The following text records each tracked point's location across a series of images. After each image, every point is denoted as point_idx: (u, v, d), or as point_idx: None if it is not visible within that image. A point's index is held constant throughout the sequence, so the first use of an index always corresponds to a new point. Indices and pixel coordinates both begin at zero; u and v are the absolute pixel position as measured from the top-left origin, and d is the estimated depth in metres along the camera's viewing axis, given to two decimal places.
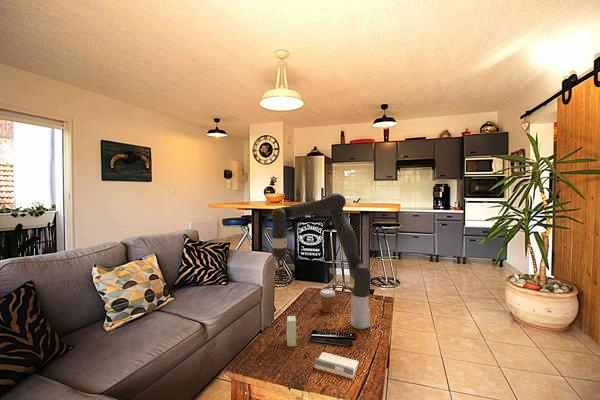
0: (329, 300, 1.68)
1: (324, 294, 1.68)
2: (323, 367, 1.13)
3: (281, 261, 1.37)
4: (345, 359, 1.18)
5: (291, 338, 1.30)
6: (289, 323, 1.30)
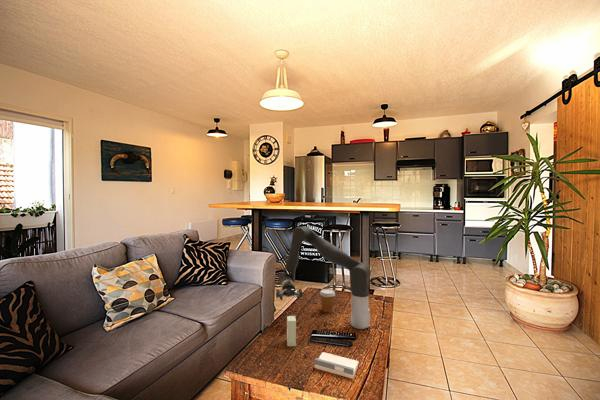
0: (329, 300, 1.68)
1: (324, 294, 1.68)
2: (323, 367, 1.13)
3: None
4: (345, 359, 1.18)
5: (291, 338, 1.30)
6: (289, 323, 1.30)
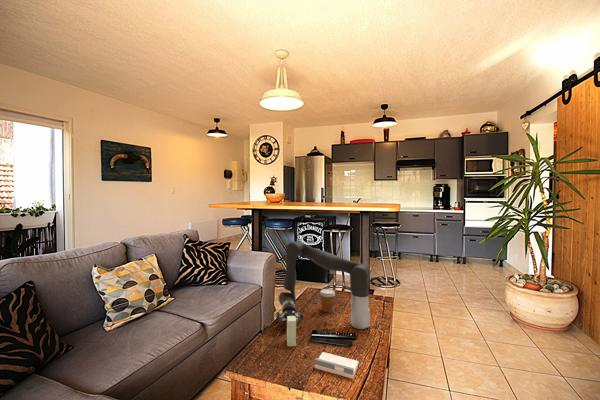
0: (329, 300, 1.68)
1: (324, 294, 1.68)
2: (323, 367, 1.13)
3: None
4: (345, 359, 1.18)
5: (291, 338, 1.30)
6: (289, 323, 1.30)
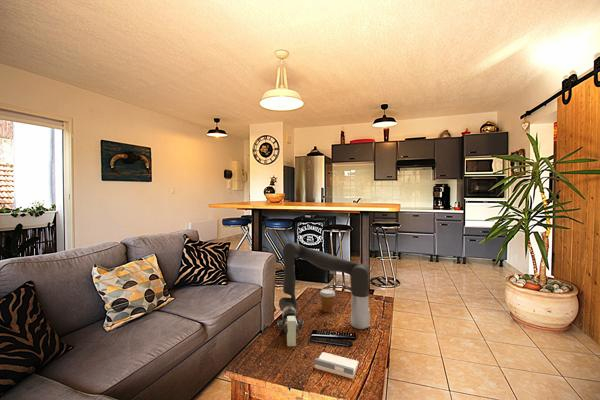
0: (329, 300, 1.68)
1: (324, 294, 1.68)
2: (323, 367, 1.13)
3: (277, 322, 1.39)
4: (345, 359, 1.18)
5: (291, 338, 1.30)
6: (289, 323, 1.30)
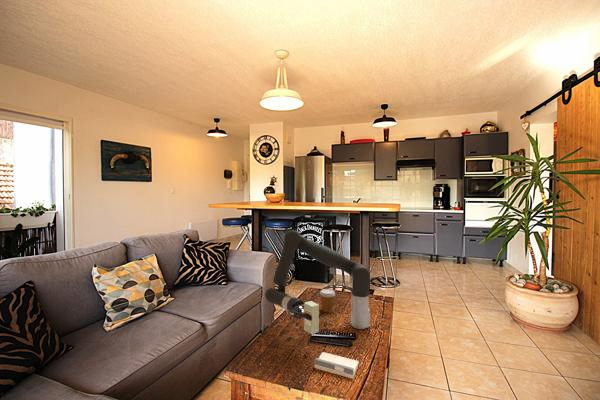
0: (329, 300, 1.68)
1: (324, 294, 1.68)
2: (323, 367, 1.13)
3: (290, 312, 1.24)
4: (345, 359, 1.18)
5: (315, 324, 1.20)
6: (313, 308, 1.20)
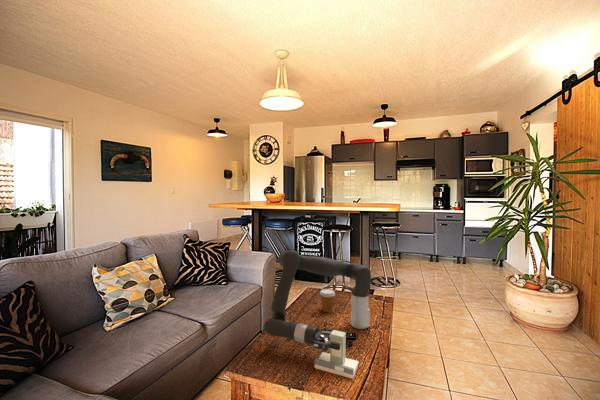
0: (329, 300, 1.68)
1: (324, 294, 1.68)
2: (323, 367, 1.13)
3: (314, 344, 1.13)
4: (345, 359, 1.18)
5: (344, 354, 1.15)
6: (343, 338, 1.14)
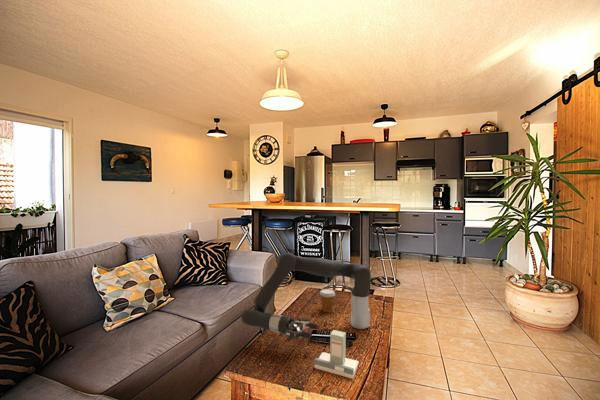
0: (329, 300, 1.68)
1: (324, 294, 1.68)
2: (323, 367, 1.13)
3: (286, 332, 1.19)
4: (345, 359, 1.18)
5: (344, 354, 1.15)
6: (343, 338, 1.14)
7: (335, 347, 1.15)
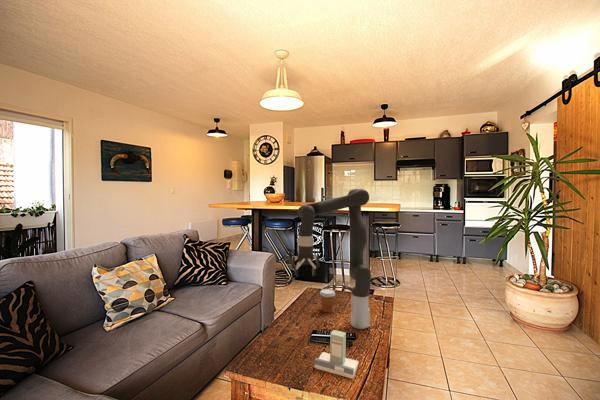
0: (329, 300, 1.68)
1: (324, 294, 1.68)
2: (323, 367, 1.13)
3: (292, 257, 1.39)
4: (345, 359, 1.18)
5: (344, 354, 1.15)
6: (343, 338, 1.14)
7: (335, 347, 1.15)
